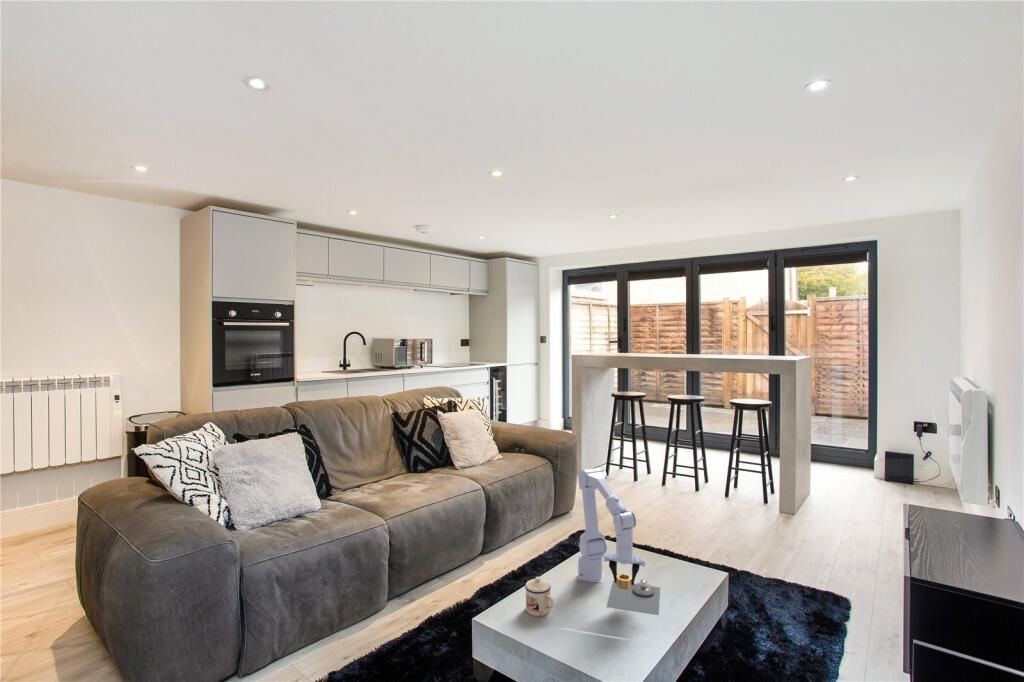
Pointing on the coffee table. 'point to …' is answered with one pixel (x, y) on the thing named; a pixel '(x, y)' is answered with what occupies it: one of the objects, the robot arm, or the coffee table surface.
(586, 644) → the coffee table surface
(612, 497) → the robot arm
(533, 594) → the teacup with lid
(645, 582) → the metal peg stand
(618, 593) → the bench mat
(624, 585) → the ring
